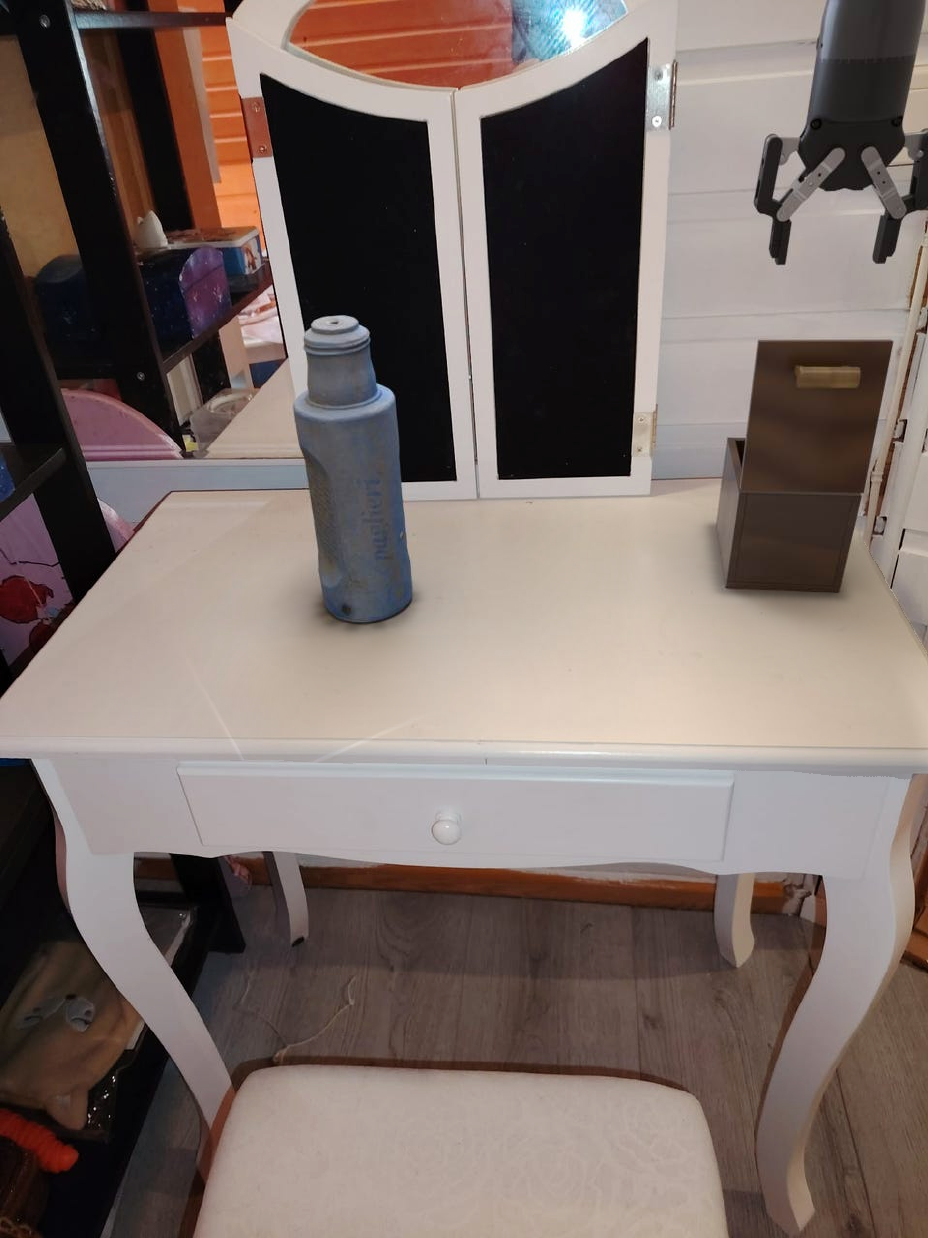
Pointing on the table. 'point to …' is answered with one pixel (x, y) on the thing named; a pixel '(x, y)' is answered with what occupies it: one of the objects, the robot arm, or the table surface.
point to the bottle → (353, 474)
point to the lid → (814, 414)
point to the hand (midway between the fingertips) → (828, 262)
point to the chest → (782, 533)
